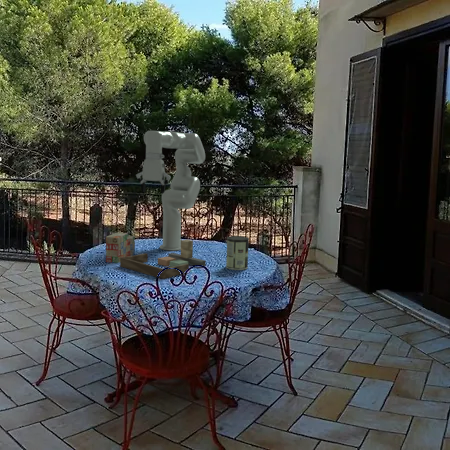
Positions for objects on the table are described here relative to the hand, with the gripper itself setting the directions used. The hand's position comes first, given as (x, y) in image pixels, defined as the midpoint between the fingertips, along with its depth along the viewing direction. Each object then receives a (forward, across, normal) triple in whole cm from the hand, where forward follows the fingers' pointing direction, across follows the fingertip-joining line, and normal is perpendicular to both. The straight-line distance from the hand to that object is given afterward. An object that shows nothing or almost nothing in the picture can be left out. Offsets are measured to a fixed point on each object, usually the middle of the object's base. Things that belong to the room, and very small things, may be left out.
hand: (153, 192), depth 242 cm
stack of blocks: (+32, +14, +6) cm, 36 cm away
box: (+32, -10, +21) cm, 40 cm away
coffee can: (+32, -44, +4) cm, 54 cm away
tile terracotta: (+32, -11, +10) cm, 36 cm away
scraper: (+32, -19, +4) cm, 38 cm away
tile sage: (+32, -18, +14) cm, 40 cm away
